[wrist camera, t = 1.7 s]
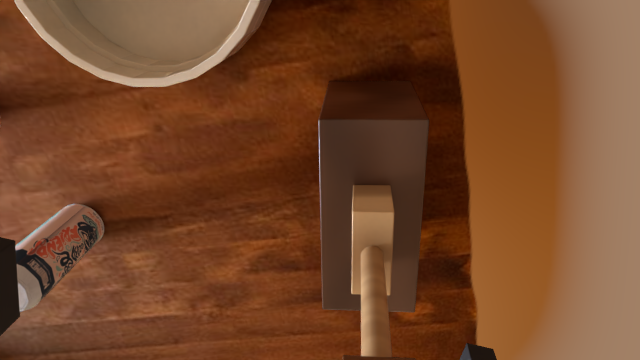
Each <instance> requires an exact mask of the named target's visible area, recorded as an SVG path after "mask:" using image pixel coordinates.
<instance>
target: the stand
mask: <svg viewBox="0 0 640 360" xmlns="http://www.w3.org/2000/svg"><path fill="white" fill-rule="evenodd" d="M318 128H319V176H320V224H321V271H322V308H323V309H329V310H359V311H361V294H352V293H351V283H352V200H353V185H390V186H391V193H392V200H393V207H394V232H393V253H392V273H391V294H390V295H387V301H388V311H389V312H415V304H416V291H417V278H418V264H419V251H420V238H421V224H422V211H423V198H424V184H425V171H426V158H427V144H428V131H429V119H428V117H427V115H426V113H425V111H424V109H423V107H422V104H421V102H420V100H419V98H418V96H417V94H416V92H415V90H414V88H413V86H412V84H411V82H410V81H329V84H328V88H327V91H326V95H325V98H324V102H323V106H322V109H321V113H320V116H319V120H318Z"/></svg>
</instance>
